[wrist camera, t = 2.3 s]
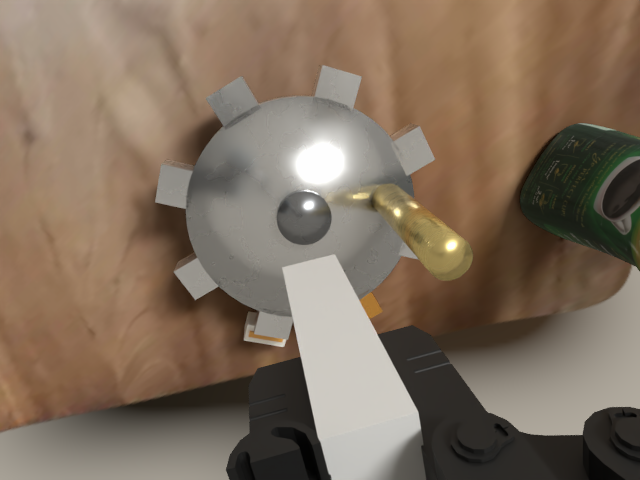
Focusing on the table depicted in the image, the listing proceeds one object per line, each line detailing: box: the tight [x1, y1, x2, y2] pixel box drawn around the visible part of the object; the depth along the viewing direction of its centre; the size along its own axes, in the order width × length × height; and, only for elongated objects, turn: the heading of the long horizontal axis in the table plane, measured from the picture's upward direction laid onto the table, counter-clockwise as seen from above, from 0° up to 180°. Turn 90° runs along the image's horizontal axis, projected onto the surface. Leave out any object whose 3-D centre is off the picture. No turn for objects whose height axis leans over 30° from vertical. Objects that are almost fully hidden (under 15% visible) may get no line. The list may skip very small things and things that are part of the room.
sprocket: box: [155, 65, 473, 340], centre depth 30 cm, size 21×21×14 cm
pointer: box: [244, 311, 286, 347], centre depth 41 cm, size 4×2×3 cm, turn 75°
